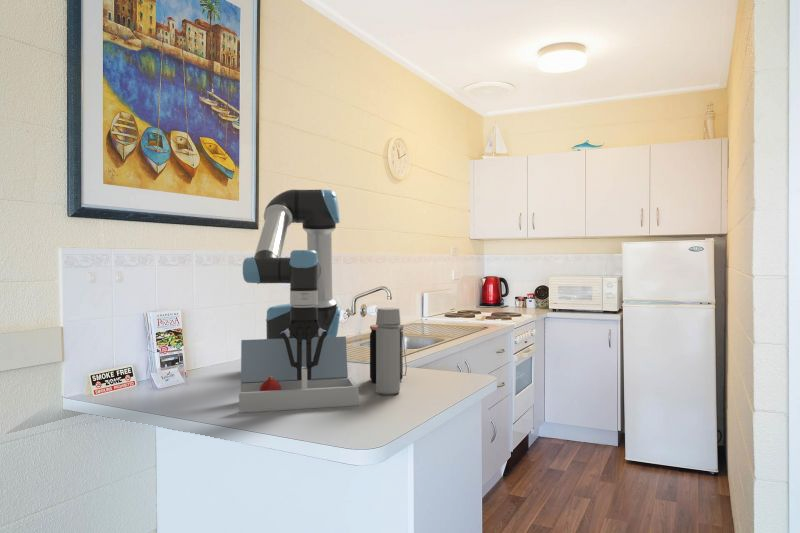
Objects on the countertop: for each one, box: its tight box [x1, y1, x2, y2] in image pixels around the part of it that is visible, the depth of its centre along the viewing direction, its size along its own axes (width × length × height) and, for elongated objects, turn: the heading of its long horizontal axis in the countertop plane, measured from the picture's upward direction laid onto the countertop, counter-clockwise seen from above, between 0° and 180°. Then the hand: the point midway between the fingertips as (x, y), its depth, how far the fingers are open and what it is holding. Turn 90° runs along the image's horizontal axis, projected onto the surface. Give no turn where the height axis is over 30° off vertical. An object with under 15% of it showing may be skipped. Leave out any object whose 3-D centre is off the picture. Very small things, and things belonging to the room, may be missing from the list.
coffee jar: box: [369, 324, 404, 384], centre depth 181 cm, size 11×11×18 cm
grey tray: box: [238, 377, 360, 414], centre depth 153 cm, size 12×31×5 cm, turn 104°
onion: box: [260, 376, 282, 391], centre depth 151 cm, size 6×6×8 cm
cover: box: [240, 336, 349, 384], centre depth 161 cm, size 1×30×13 cm, turn 104°
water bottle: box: [375, 307, 408, 396], centre depth 165 cm, size 9×8×25 cm
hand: (304, 391), depth 153 cm, fingers closed
